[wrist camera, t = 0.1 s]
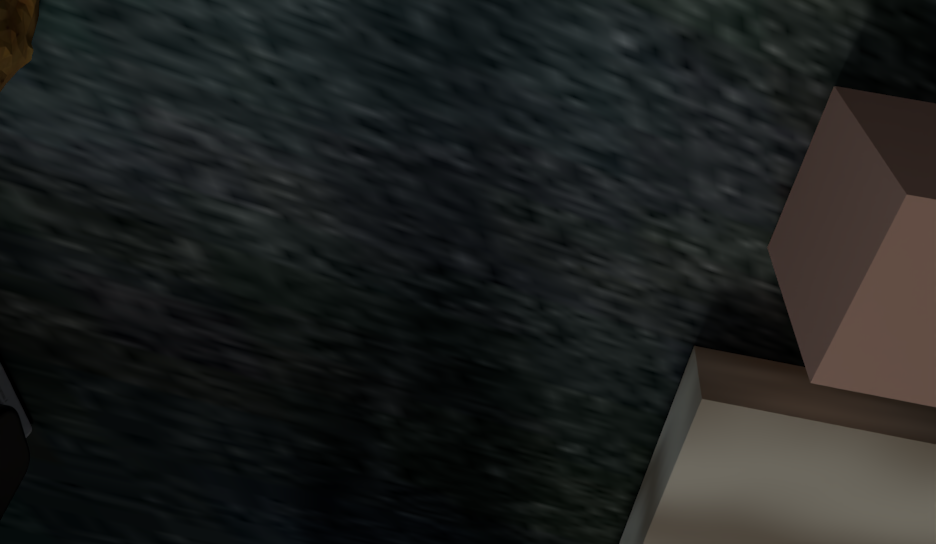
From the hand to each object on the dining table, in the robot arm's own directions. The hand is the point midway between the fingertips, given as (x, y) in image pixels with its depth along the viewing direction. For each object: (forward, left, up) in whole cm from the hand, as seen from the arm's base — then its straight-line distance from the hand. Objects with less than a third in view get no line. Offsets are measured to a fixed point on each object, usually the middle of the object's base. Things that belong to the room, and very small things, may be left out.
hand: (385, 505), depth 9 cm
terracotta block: (-1, -11, -15) cm, 18 cm away
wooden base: (-14, -14, -15) cm, 25 cm away
